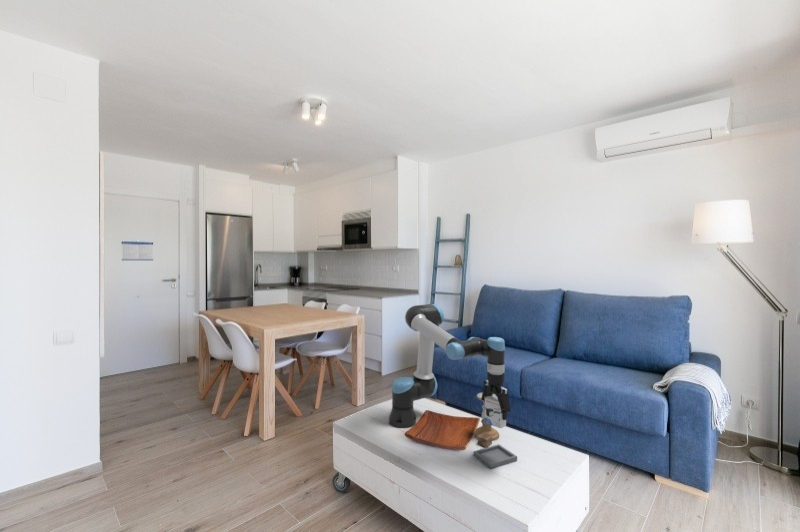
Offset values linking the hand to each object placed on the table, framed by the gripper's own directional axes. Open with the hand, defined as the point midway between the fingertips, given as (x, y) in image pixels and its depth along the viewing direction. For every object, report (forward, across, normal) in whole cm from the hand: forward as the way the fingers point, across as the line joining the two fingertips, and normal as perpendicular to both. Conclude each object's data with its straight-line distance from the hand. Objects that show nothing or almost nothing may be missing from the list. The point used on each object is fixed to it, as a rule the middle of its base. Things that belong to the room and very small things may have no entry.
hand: (495, 421), depth 167 cm
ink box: (+1, 0, 0) cm, 1 cm away
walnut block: (+17, -12, +4) cm, 21 cm away
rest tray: (+17, 0, 0) cm, 17 cm away
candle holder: (+17, -19, +11) cm, 28 cm away
